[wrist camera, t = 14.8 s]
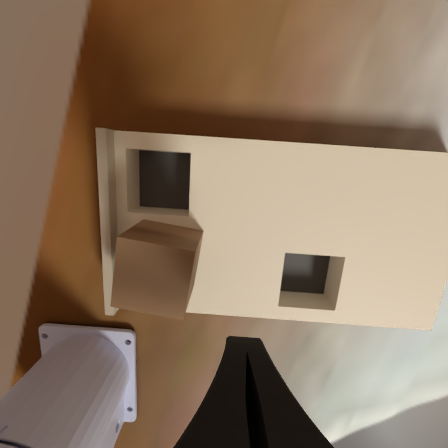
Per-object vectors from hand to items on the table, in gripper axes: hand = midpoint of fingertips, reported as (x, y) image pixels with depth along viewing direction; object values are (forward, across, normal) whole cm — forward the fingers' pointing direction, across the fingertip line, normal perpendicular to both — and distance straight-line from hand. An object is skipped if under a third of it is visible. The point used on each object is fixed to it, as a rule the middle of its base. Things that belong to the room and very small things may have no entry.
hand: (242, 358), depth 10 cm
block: (+7, +5, -1) cm, 9 cm away
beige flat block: (+10, -3, -3) cm, 11 cm away
